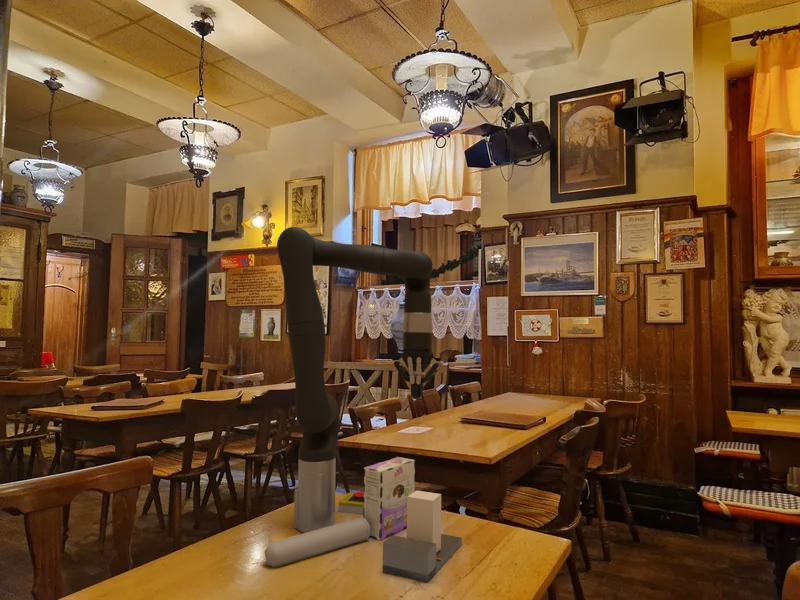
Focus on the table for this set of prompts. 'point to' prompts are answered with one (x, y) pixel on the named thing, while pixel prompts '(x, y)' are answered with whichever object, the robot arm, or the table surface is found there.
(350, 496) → the emergency button
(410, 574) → the grey base block
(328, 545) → the tube
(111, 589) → the table surface
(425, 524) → the block
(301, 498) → the robot arm
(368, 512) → the candy box
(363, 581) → the table surface
